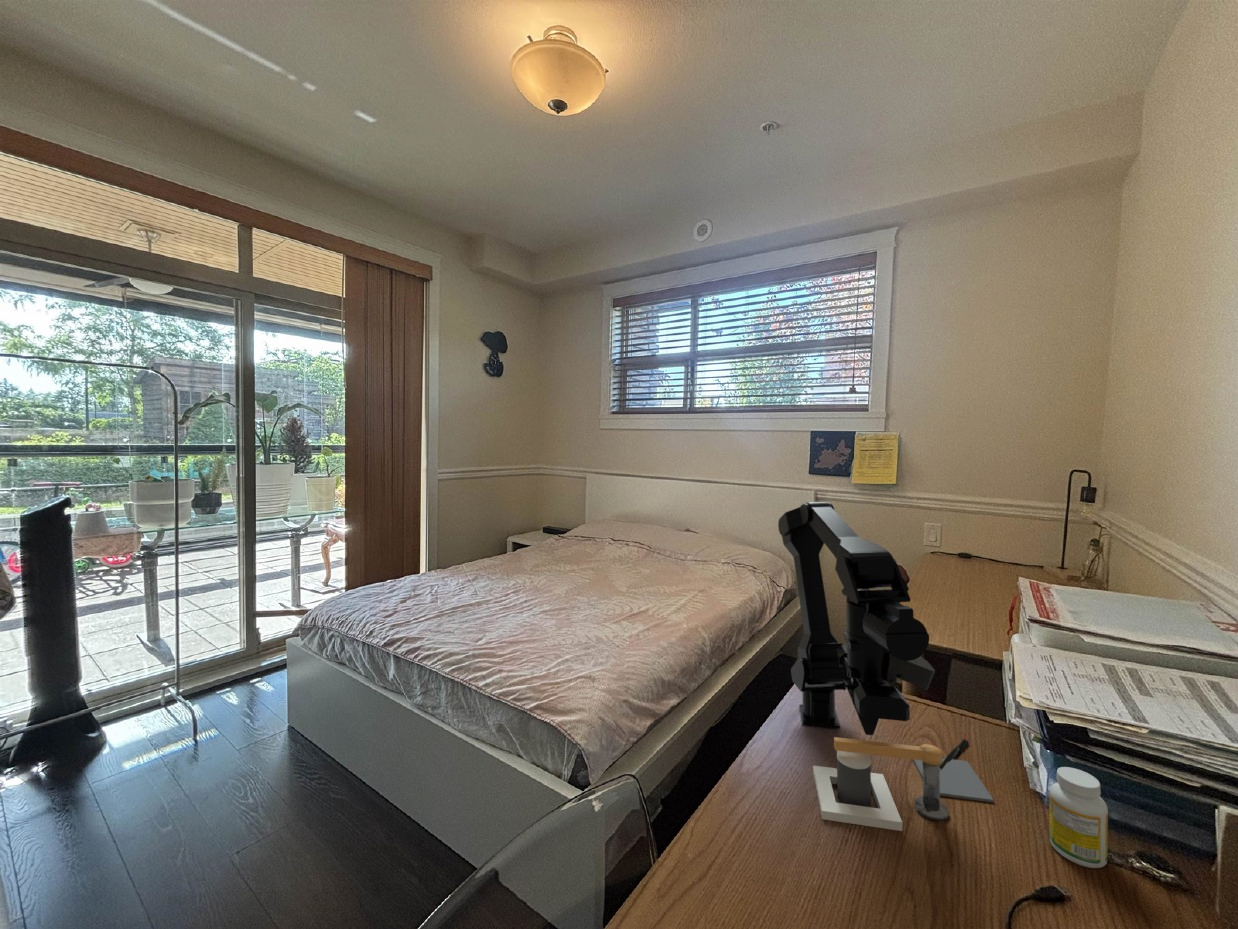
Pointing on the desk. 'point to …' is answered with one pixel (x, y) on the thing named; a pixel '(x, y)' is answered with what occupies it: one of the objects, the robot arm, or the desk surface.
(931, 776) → the post
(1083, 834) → the supplement bottle
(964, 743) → the black pen
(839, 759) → the plug
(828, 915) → the desk surface
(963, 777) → the mat
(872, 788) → the socket block
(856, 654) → the robot arm
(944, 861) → the desk surface
